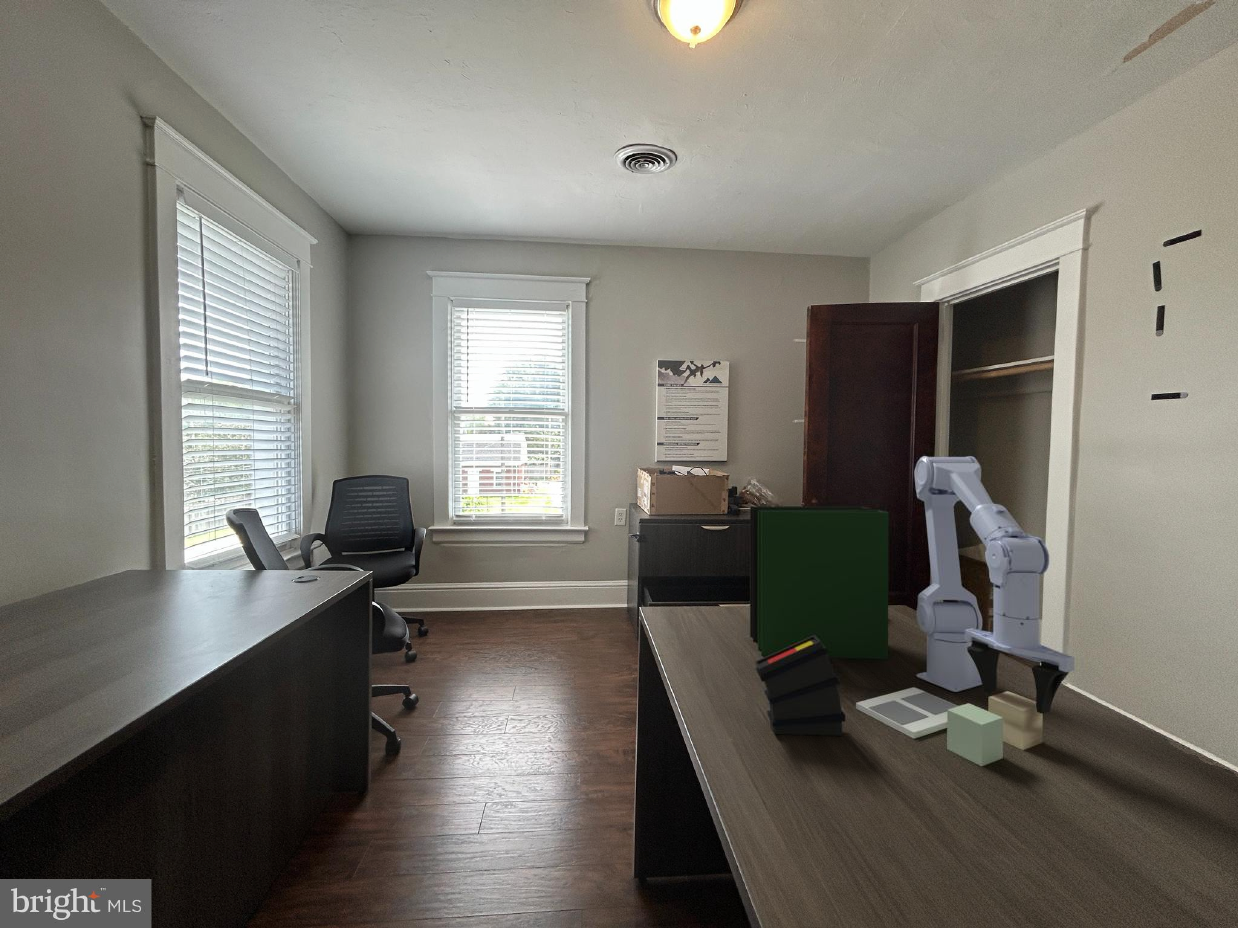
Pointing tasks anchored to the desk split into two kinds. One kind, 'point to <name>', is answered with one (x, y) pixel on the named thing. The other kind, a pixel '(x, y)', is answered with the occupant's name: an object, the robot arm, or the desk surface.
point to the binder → (820, 578)
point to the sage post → (975, 734)
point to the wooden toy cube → (1017, 719)
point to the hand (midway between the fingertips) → (1015, 700)
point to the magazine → (802, 690)
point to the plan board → (909, 711)
